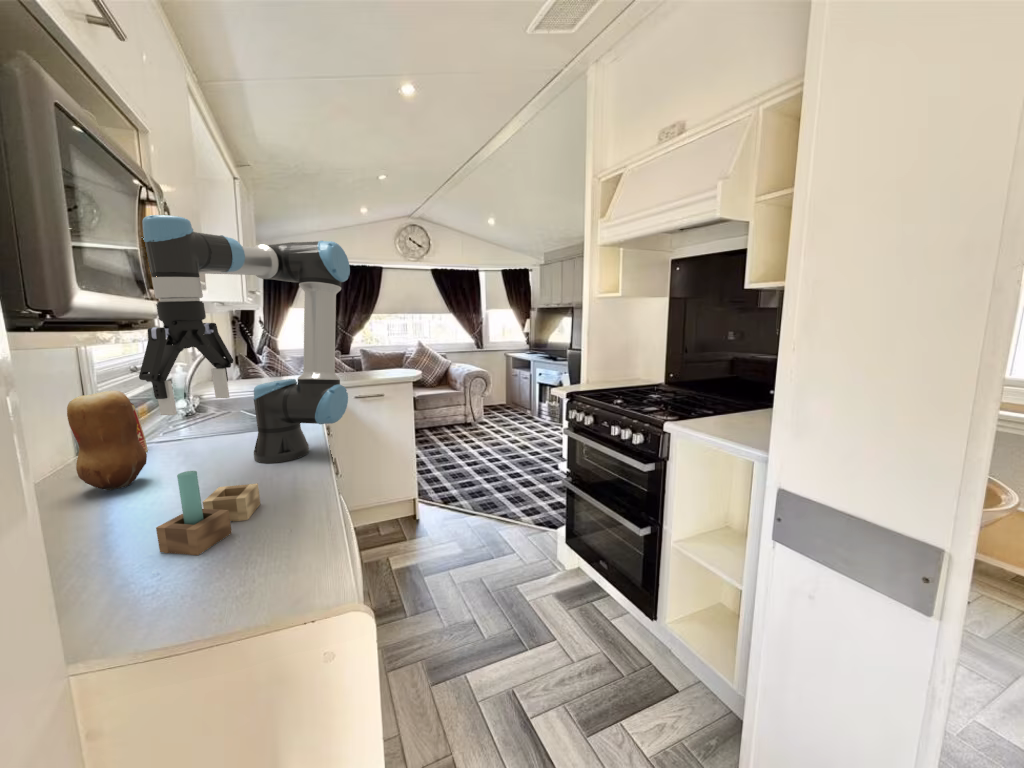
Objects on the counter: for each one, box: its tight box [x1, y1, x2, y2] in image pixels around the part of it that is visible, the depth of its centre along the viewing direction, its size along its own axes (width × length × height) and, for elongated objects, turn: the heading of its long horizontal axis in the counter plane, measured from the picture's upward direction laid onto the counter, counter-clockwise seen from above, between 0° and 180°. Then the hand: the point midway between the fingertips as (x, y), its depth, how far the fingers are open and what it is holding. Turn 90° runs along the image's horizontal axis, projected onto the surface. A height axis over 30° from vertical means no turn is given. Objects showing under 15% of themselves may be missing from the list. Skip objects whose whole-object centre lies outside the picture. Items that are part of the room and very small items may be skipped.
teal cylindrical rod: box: [176, 470, 204, 525], centre depth 84 cm, size 3×3×14 cm
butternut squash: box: [66, 390, 148, 492], centre depth 110 cm, size 14×13×25 cm
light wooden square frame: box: [202, 483, 261, 522], centre depth 96 cm, size 8×8×5 cm
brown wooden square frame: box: [155, 508, 233, 556], centre depth 84 cm, size 8×8×5 cm
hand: (197, 405), depth 90 cm, fingers open, 13 cm apart
